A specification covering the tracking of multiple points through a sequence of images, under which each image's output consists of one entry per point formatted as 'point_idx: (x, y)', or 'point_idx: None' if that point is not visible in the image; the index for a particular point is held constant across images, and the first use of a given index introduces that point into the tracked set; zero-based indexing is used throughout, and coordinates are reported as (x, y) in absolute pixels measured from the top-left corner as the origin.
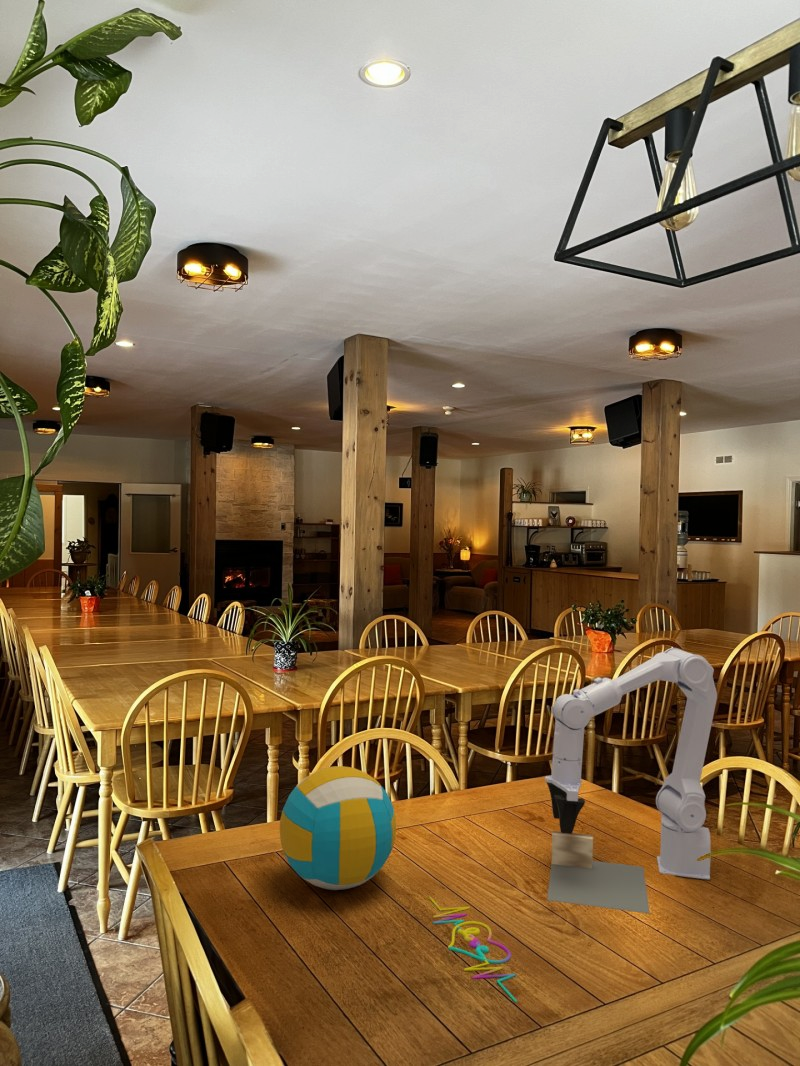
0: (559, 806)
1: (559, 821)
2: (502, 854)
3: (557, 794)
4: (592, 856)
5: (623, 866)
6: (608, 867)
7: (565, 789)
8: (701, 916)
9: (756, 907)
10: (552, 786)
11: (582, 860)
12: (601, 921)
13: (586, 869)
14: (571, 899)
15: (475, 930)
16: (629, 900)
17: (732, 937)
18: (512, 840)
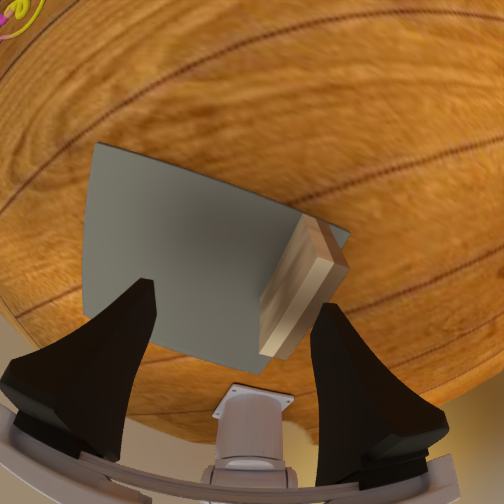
0: (34, 355)
1: (133, 304)
2: (395, 103)
3: (347, 409)
4: (260, 318)
5: None
6: None
7: (4, 457)
8: None
9: (145, 412)
10: (371, 439)
11: (269, 291)
12: (49, 232)
13: (258, 285)
14: (100, 200)
15: (18, 12)
16: None
17: None
18: (460, 170)
